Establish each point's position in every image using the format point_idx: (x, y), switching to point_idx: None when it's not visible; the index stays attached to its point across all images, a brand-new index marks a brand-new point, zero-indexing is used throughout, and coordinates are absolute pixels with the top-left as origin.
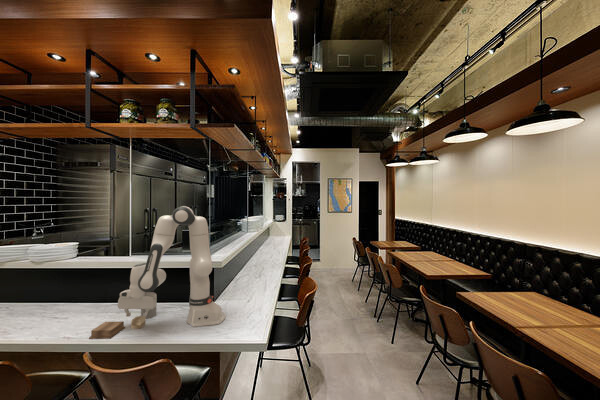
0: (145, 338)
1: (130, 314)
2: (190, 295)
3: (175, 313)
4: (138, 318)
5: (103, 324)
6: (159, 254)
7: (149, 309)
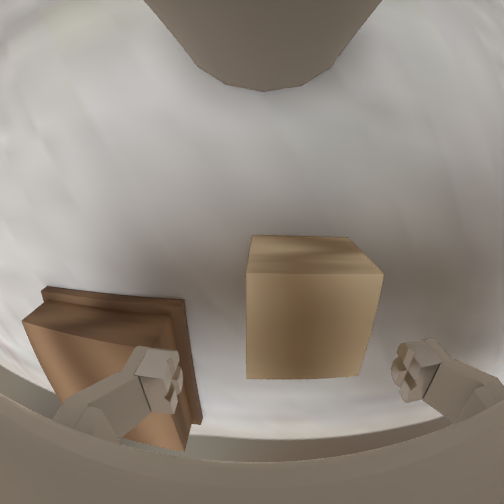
0: (407, 409)
1: (174, 361)
2: None
3: (479, 41)
4: (315, 342)
5: (50, 366)
6: None
7: (494, 387)
